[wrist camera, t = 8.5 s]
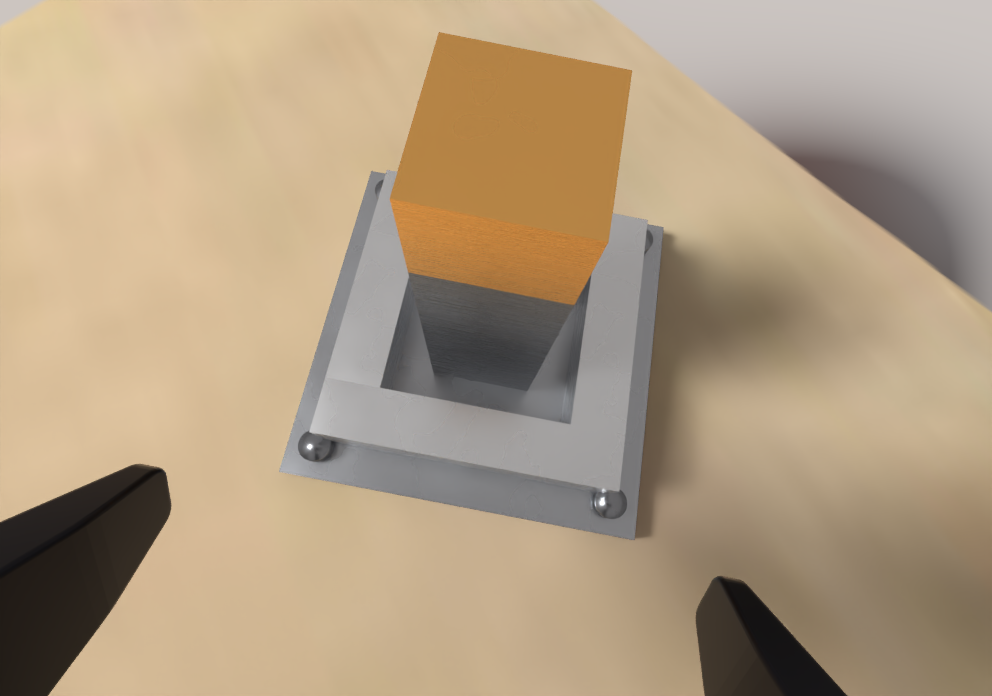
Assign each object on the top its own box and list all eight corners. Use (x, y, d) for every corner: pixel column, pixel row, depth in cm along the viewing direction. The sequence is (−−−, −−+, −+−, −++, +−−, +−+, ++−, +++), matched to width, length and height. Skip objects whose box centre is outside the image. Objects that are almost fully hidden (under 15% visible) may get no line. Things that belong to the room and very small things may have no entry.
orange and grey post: (527, 391, 21) (608, 242, 9) (433, 372, 21) (389, 199, 9) (542, 303, 22) (632, 70, 10) (453, 286, 22) (438, 32, 10)
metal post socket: (628, 538, 20) (658, 545, 17) (285, 472, 20) (252, 467, 17) (657, 236, 24) (685, 196, 21) (374, 181, 24) (360, 134, 21)
